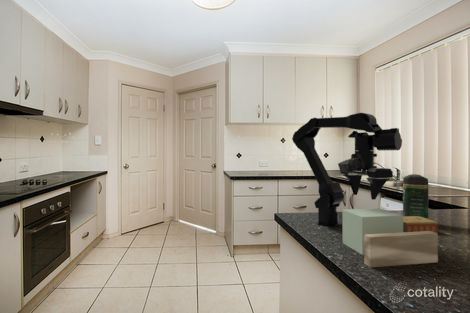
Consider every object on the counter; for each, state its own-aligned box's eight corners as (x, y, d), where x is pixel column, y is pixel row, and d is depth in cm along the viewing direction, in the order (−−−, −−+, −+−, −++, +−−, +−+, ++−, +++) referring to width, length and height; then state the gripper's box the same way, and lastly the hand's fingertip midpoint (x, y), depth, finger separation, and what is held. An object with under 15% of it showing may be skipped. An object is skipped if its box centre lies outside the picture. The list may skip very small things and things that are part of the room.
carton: (438, 234, 82) (438, 221, 82) (389, 234, 82) (389, 222, 82) (419, 227, 90) (419, 215, 90) (375, 227, 90) (375, 215, 90)
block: (342, 243, 73) (342, 209, 73) (379, 240, 75) (379, 208, 75) (362, 255, 65) (362, 217, 65) (403, 252, 66) (403, 215, 66)
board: (364, 263, 59) (364, 234, 59) (430, 258, 62) (430, 230, 62) (370, 267, 57) (370, 237, 57) (437, 262, 60) (437, 233, 60)
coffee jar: (430, 227, 88) (429, 175, 88) (403, 224, 93) (403, 174, 93) (426, 221, 97) (426, 174, 96) (402, 218, 101) (402, 173, 101)
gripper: (327, 151, 91) (327, 193, 91) (360, 150, 72) (360, 203, 73) (354, 151, 93) (354, 192, 93) (394, 150, 74) (394, 202, 74)
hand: (363, 197), depth 83 cm, fingers open, 9 cm apart
